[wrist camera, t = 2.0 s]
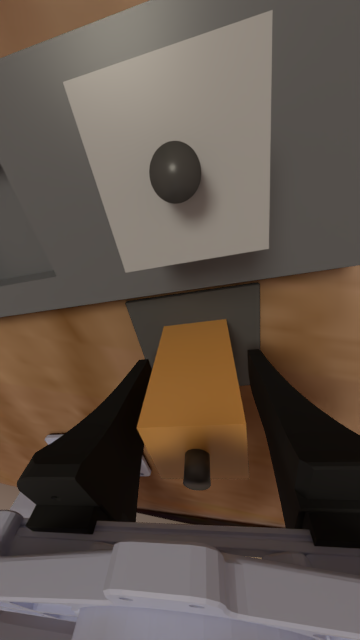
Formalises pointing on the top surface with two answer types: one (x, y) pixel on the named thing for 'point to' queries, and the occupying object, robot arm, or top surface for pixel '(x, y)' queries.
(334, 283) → the top surface
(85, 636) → the robot arm
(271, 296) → the top surface
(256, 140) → the grey panel with knob
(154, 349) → the mat
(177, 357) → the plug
